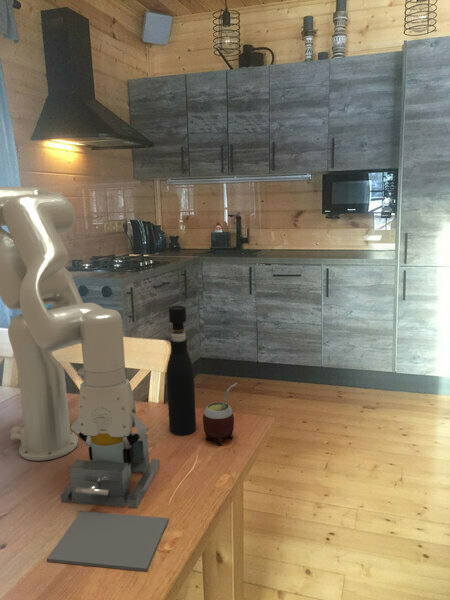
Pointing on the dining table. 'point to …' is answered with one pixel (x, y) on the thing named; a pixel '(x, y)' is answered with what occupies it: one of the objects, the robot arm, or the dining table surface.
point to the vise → (111, 479)
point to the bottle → (107, 445)
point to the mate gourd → (219, 420)
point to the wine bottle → (180, 378)
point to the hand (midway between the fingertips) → (112, 462)
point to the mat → (110, 541)
